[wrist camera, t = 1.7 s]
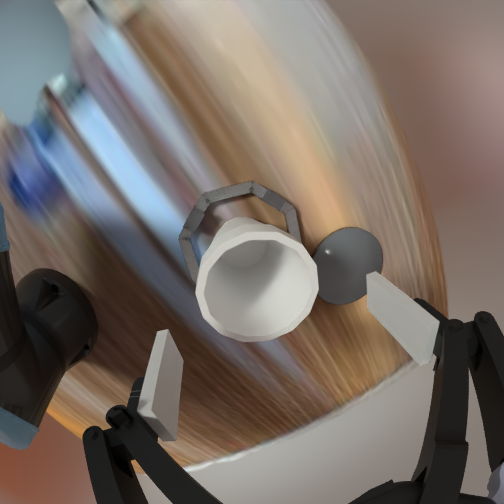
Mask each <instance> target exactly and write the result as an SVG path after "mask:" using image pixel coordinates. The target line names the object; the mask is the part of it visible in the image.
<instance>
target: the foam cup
mask: <svg viewBox="0 0 504 504" xmlns="http://www.w3.org/2000/svg"><path fill="white" fill-rule="evenodd" d="M318 290H319V286H318V275H317V265H316V264H315V262H314V261H313V259H312V258H311V256H310V255H309V254H308V252H307V251H306V249H305V248H304V246H303V245H302V244H301V243H300V242H299V241H298V240H297V239H296V238H295V237H294V236H292V235H290V234H289V233H287V232H285V231H283V230H281V229H279V228H277V227H275V226H273V225H271V224H263V223H261V222H258V221H256V220H254V219H252V218H249V217H236V218H233V219H231V220H229V221H227V222H225V223H224V224H223V226H222V227H221V228H220V229H219V231H218V232H217V234H216V235H215V237H214V239H213V241H212V243H211V245H210V247H209V248H208V250H207V251H206V252H205V253H204V254H203V256H202V258H201V263H200V268H199V273H198V278H197V284H196V293H195V294H196V297H197V300H198V303H199V306H200V310H201V313H202V316H203V318H204V319H205V320H206V321H207V322H208V323H209V324H210V325H211V326H213V327H214V328H215V329H216V330H217V331H218V332H219V333H220V334H221V335H224V336H227V337H230V338H233V339H236V340H239V341H242V342H258V341H270V340H272V339H274V338H277V337H279V336H281V335H283V334H286V333H288V332H290V331H292V330H293V329H294V328H295V327H296V326H297V325H298V324H299V323H300V322H301V321H302V320H303V319H304V318H305V317H306V316H307V315H308V314H309V313H310V311H311V309H312V306H313V304H314V301H315V298H316V296H317V293H318Z"/></svg>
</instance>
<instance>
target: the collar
mask: <svg viewBox="0 0 504 504" xmlns="http://www.w3.org/2000/svg"><path fill="white" fill-rule="evenodd" d="M250 192H252V193H253V194H255V195H257V196H258V198H260V199H261V200H263V201H264V202H266V203H267V204H269V205H271V206H272V207H274V208H276V209H277V210H279V211H280V210H281V211H283V212H284V216H285V221H286V226H287V231H288V233H289V234H290V235H292V236H294V237H295V238H296V239H297V240H298V241H299V242H300V243H301V237H300V232H299V226H298V221H297V216H296V210H295V208H294V206H292V205H291V204H289V203H288V202H286V200H285V199H284V198H282V197H280V196H279V195H277V194H276V193H274V192H273V191H271V190H269V189H268V188H265V187H262V186H261V185H259V184H257V183H256V182H254V181H253V182H252V181H247V182H243V183H239V184H235V185H231V186H227V187H223V188H219V189H216V190H212V191H208V192H205V193H204V195H203V194H202V195H201V197H200V199H199V201H198V202H197V204H196V205H195V206H194V208H193V209H192V211H191V213H190V215H189V217H188V218H187V220H186V222H185V224H184V226H183V229H182V231H181V233H180V235H179V242H180V245H181V248H182V252H183V255H184V258H185V261H186V264H187V267H188V269H189V272H190V275H191V278H192V281H194V283H196V284H197V278H198V273H199V268H200V267H199V264H198V261H197V258H196V254H195V251H194V248H193V245H192V242H191V238H190V237H191V235H192V233H195V231H196V229H197V228H198V226H199V224H200V222H201V221H202V219H203V217H204V215H205V210H206V209H207V207H208V205H209V203H212V202H216V201H219V200H223V199H227V198H231V197H235V196H238V195H242V194H246V193H250ZM301 244H302V243H301Z"/></svg>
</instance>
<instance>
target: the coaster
mask: <svg viewBox="0 0 504 504" xmlns="http://www.w3.org/2000/svg"><path fill="white" fill-rule="evenodd" d="M312 259H313V261H314V262H315V264H316V265H317V275H318V286H319V290H318V293H317V294H318V295H319V296H320V297H321V298H322V299H323V300H325V301H326V302H329V303H332V304H337V305H343V304H348V303H352V302H354V301H356V300H358V299H360V298H361V297H363V296H364V295H365V294H367V279H366V274H369V273H372V272H375V271H376V272H378V273H379V274H380V272H381V268H382V259H383V257H382V250H381V247H380V244H379V243H378V241H377V239H376V238H375V237H374V236H373V235H372V234H371V233H369V232H367V231H365V230H363V229H361V228H357V227H345V228H341V229H338V230H336V231H334V232H332V233H331V234H329V235H328V236H327V237H326V238H325V239H324V240H323V241H322V242H321V243H320V244H319V246H318V247H317V249H316V250H315V252H314V254H313V257H312Z"/></svg>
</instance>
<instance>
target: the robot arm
mask: <svg viewBox="0 0 504 504" xmlns="http://www.w3.org/2000/svg"><path fill="white" fill-rule="evenodd" d="M9 249H10V243H9V241H8V240H7V234H6V226H5V218H4V210H3V207H2V204H1V202H0V442H2V443H4V444H6V445H7V446H9V447H12V448H15V449H19V450H21V449H26V448H28V447H29V446H30V444H31V442H32V440H33V438H34V437H35V435H36V433H37V432H38V431H39V429H38V428H39V426H40V423H41V421H42V419H43V417H44V414H45V412H46V410H47V408H48V405H49V403H50V401H51V399H52V397H53V395H54V393H55V391H56V389H57V387H58V385H59V383H60V381H61V379H62V377H63V375H64V374H65V372H66V371H68V370H69V369H70V368H72V367H73V366H74V365H76V364H77V363H79V362H80V361H81V360H83V359H84V358H85V357H86V356H87V355H88V354H89V353H90V351H91V349H92V347H93V345H94V344H95V341H96V339H97V331H98V329H97V321H96V317H95V314H94V311H93V309H92V307H91V305H90V303H89V301H88V300H87V298H86V297H85V295H84V294H83V293H82V291H81V290H80V289H79V288H78V287H77V286H76V285H75V284H74V283H73V282H72V281H71V280H70V279H68V278H67V277H66V276H64V275H62V274H61V273H59V272H56V271H54V270H51V269H44V268H41V269H36V270H33V271H31V272H30V273H29V274H27V275H26V276H25V277H23V278H22V279H21V280H20V281H19V283H18V284H17V286H16V288H15V285H14V280H13V275H12V269H11V263H10V256H9ZM366 279H367V309H368V310H369V311H370V312H371V313H372V314H373V315H374V317H375V318H376V319H377V320H378V321H379V322H380V323H381V324H382V325H383V326H384V327H385V328H386V329H387V330H388V331H389V333H390V334H391V335H392V336H393V337H394V338H395V339H396V340H397V341H398V342H399V343H400V345H401V346H402V347H403V348H404V349H405V350H406V351H407V352H408V353H409V355H410V356H411V357H412V358H413V359H414V360H415V361H416V362H417V364H418V365H419V366H420V367H421V366H423V365H425V364H427V363H428V362H430V361H431V359H432V355H433V354H434V355H435V356H436V357H437V358H436V362H435V365H434V369H433V370H434V371H435V375H434V384H433V392H432V399H431V406H430V412H429V418H428V423H427V428H426V433H425V437H424V442H423V446H422V450H421V454H420V458H419V461H418V465H417V467H416V470H415V472H414V474H413V476H412V479H411V481H401V482H396V483H393V480H390V481H388V482H386V483H384V484H382V485H379V486H377V487H375V488H373V489H370V490H368V491H367V492H366V493H364V494H363V495H361V496H360V497H358V498H357V499H355V500H354V501H352V502H350V503H349V504H504V336H503V334H502V332H501V330H500V328H499V327H498V325H497V322H496V321H495V319H494V317H493V316H492V315H491V314H490V313H488V312H485V311H480V312H477V313H476V314H475V317H474V321H470V322H467V323H463V322H462V321H460V320H458V319H450V320H449V319H447V318H446V317H445V316H444V315H442V314H441V313H440V312H439V311H437V310H436V309H434V307H432V306H430V304H428V303H427V302H426V301H425V300H422V299H419V298H415V299H413V300H412V299H411V298H410V297H409V296H407V295H406V294H405V293H404V292H402V291H401V290H400V289H398V288H397V287H396V286H395V285H393V284H392V283H391V282H389V281H388V280H387V279H386V278H384V277H383V276H382V275H380V274H379V273H378V272H376V271H375V272H372V273H369V274H366ZM183 362H184V360H183V358H182V356H181V354H180V352H179V350H178V348H177V346H176V344H175V342H174V340H173V338H172V336H171V334H170V332H169V330H168V329H166V330H161V331H157V335H156V338H155V342H154V345H153V349H152V352H151V356H150V360H149V363H148V367H147V371H146V375H145V377H139V378H137V380H136V381H135V382H134V384H133V386H132V390H131V393H130V398H129V401H128V404H127V407H125V406H124V405H116V406H114V407H112V408H111V409H110V410H108V412H107V414H106V422H107V423H108V424H109V425H110V426H111V427H112V428H110V429H107V430H102V429H101V428H100V427H98V426H91V427H89V428H87V429H86V430H85V431H84V433H83V445H84V451H85V455H86V461H87V466H88V471H89V474H90V479H91V483H92V487H93V491H94V495H95V498H96V502H97V504H148V501H147V499H146V497H145V495H144V493H143V490H142V488H141V486H140V484H139V481H138V479H137V476H136V474H135V471H134V469H133V466H132V463H131V460H134V459H135V460H136V461H137V462H138V464H139V465H140V466H141V468H142V469H143V470H144V471H145V473H146V474H147V475H148V476H149V477H150V479H151V480H152V481H153V482H154V483H155V485H156V486H157V487H158V488H159V489H160V490H161V491H162V493H164V495H165V496H166V497H167V498H168V499H169V500H170V501H171V502H172V503H173V504H223V503H222V502H220V501H219V500H218V499H217V498H215V497H214V496H213V495H212V494H211V493H209V492H208V491H207V490H206V489H205V488H204V487H202V486H201V485H200V484H199V483H198V482H197V481H196V480H194V479H193V478H192V477H191V476H190V475H189V474H188V473H187V472H186V471H185V470H184V469H183V468H182V467H181V466H180V465H179V464H178V463H177V462H176V461H175V460H174V459H173V458H172V457H171V456H170V455H169V454H168V453H167V452H166V451H165V450H164V449H163V448H162V447H161V446H160V445H159V443H158V442H157V441H158V437H159V438H160V439H161V440H162V441H163V442H164V441H176V440H177V426H178V413H179V401H180V391H181V381H182V371H183ZM468 366H469V367H468ZM469 370H470V373H471V376H472V379H473V383H474V387H475V390H476V394H477V398H478V402H479V407H480V411H481V416H482V420H483V426H484V431H485V437H486V444H487V451H488V458H489V465H490V468H491V472H492V474H491V476H490V479H489V483H488V485H487V489H488V491H489V495H488V497H482V496H475V495H469V494H464V493H460V489H461V485H462V481H463V476H464V472H465V466H466V460H467V455H468V446H469V445H468V442H466V440H465V437H466V427H467V416H468V397H469V396H468V395H469Z"/></svg>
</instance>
